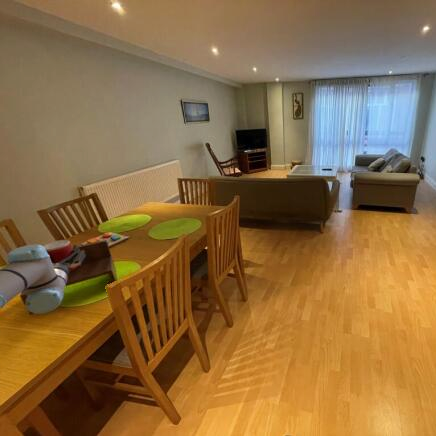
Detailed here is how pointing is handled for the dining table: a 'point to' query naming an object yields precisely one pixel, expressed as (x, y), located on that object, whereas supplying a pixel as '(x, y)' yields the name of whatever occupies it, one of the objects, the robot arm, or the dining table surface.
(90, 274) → the shelf
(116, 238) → the puzzle board
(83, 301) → the dining table surface
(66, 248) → the canned food
